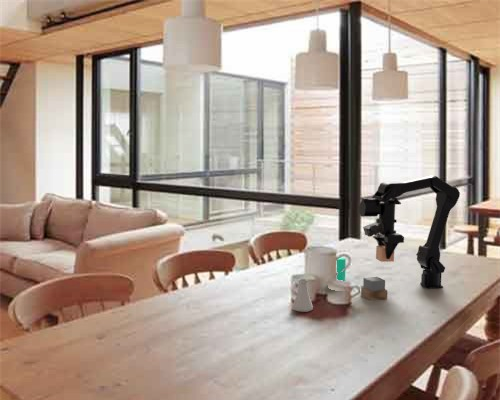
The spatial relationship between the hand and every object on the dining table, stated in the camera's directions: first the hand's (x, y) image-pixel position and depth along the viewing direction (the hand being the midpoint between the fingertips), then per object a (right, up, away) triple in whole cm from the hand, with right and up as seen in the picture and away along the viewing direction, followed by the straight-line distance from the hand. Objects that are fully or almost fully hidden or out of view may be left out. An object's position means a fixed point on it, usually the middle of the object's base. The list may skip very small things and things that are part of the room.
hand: (384, 257), depth 204 cm
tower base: (-6, -14, -9) cm, 17 cm away
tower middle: (-6, -10, -9) cm, 15 cm away
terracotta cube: (0, -1, 0) cm, 1 cm away
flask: (-33, -15, -23) cm, 43 cm away
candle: (-17, -12, +8) cm, 22 cm away
